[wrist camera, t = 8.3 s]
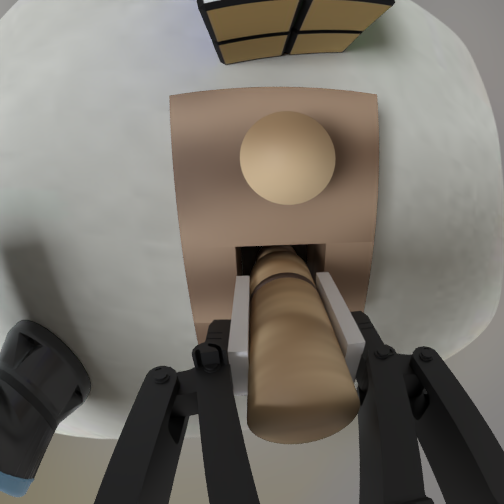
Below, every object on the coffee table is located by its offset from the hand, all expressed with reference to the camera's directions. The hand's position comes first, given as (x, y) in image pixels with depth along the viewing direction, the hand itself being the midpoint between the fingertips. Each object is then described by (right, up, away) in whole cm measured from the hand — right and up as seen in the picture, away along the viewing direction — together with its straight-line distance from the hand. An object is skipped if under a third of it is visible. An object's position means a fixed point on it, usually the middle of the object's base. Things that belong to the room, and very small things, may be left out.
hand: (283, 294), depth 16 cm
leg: (0, +2, +5) cm, 5 cm away
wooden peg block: (0, +5, +6) cm, 8 cm away
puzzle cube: (0, +22, -1) cm, 22 cm away
